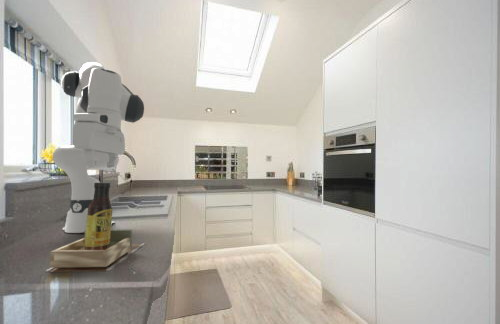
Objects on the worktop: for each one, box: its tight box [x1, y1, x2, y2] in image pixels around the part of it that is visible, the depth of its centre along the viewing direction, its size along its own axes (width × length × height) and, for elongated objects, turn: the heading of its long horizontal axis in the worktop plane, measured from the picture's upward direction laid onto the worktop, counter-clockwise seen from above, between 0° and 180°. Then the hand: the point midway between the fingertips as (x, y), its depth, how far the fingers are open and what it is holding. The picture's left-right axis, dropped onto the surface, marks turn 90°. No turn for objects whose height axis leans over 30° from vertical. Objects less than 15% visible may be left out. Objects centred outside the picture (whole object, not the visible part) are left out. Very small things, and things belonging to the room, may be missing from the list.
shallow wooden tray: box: [48, 229, 133, 269], centre depth 65 cm, size 14×14×7 cm
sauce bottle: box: [84, 182, 113, 250], centre depth 66 cm, size 6×6×20 cm
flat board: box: [44, 242, 146, 273], centre depth 69 cm, size 23×16×1 cm
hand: (101, 167), depth 67 cm, fingers open, 8 cm apart
